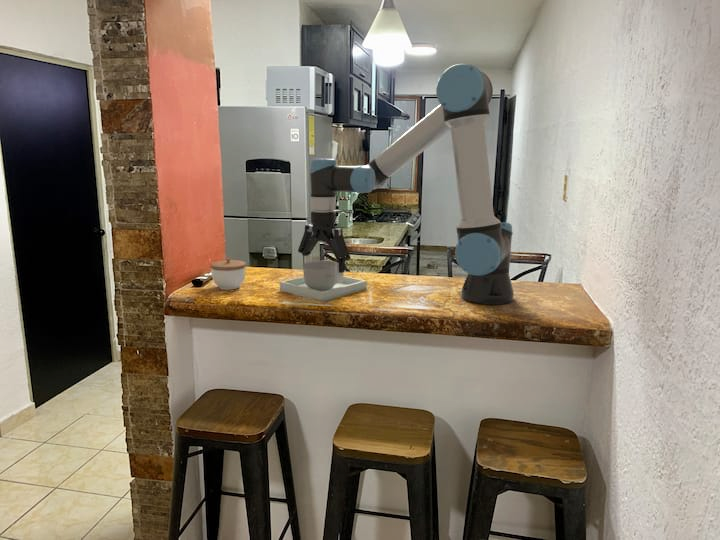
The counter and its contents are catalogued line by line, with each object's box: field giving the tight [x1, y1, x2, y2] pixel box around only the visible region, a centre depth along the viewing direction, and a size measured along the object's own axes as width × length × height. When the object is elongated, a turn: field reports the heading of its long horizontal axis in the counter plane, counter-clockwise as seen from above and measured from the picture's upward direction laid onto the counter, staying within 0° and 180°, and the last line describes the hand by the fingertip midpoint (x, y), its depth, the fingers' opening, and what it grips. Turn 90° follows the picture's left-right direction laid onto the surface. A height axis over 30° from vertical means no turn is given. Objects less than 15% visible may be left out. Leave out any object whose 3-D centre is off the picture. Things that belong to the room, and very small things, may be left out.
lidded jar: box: [210, 257, 247, 291], centre depth 168 cm, size 11×11×9 cm
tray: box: [279, 275, 368, 303], centre depth 167 cm, size 19×20×3 cm
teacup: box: [302, 259, 337, 291], centre depth 166 cm, size 14×11×8 cm
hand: (323, 279), depth 166 cm, fingers open, 13 cm apart
